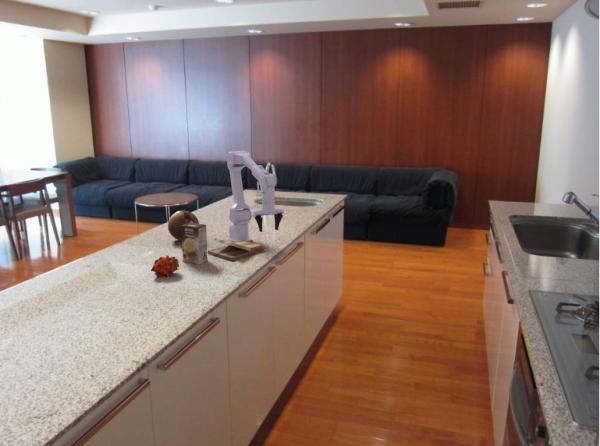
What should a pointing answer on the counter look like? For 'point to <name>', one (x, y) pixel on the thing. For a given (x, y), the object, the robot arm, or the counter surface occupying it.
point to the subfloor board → (236, 250)
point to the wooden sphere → (180, 222)
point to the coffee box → (194, 243)
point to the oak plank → (232, 244)
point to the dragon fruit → (165, 266)
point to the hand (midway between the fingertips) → (268, 230)
